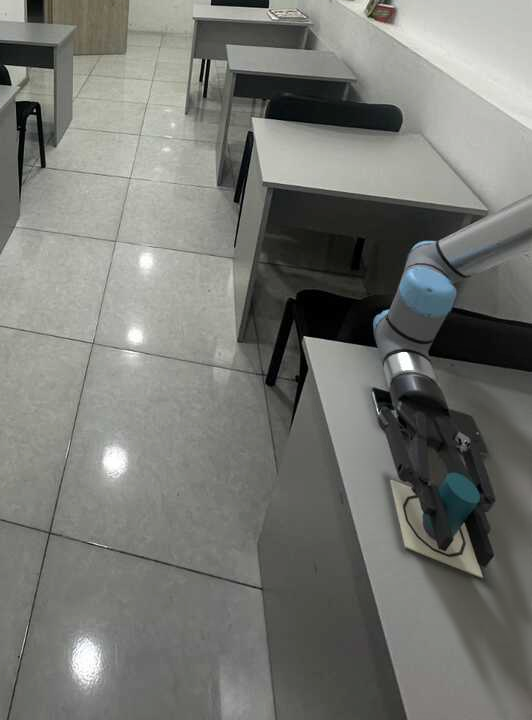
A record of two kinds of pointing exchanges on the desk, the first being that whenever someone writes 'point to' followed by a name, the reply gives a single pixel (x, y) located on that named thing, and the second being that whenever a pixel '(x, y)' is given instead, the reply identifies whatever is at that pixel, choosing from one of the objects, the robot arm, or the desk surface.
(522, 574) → the desk surface
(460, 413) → the smartphone
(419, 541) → the drawing sheet
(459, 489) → the teal cylinder
